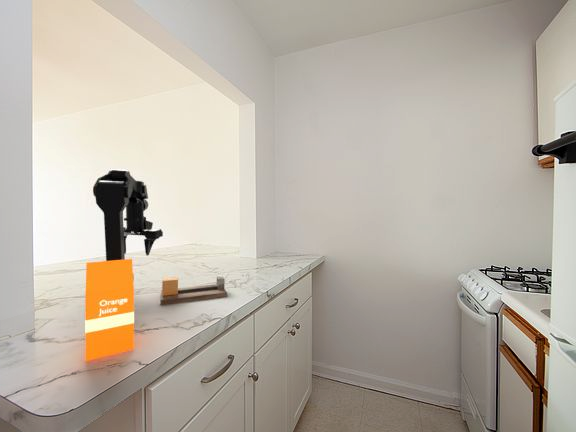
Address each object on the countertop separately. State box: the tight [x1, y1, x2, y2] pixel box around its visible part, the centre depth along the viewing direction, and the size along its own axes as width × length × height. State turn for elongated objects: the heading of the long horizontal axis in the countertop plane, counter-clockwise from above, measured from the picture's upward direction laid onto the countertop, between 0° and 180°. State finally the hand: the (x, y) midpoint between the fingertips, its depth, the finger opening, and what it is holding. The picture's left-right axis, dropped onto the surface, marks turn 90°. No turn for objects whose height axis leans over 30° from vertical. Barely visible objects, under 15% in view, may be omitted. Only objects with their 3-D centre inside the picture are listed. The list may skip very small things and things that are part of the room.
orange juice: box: [84, 258, 135, 362], centre depth 60 cm, size 8×9×20 cm
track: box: [160, 276, 228, 306], centre depth 97 cm, size 12×22×6 cm, turn 115°
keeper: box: [161, 276, 179, 296], centre depth 93 cm, size 4×5×5 cm
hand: (136, 254), depth 101 cm, fingers open, 9 cm apart
